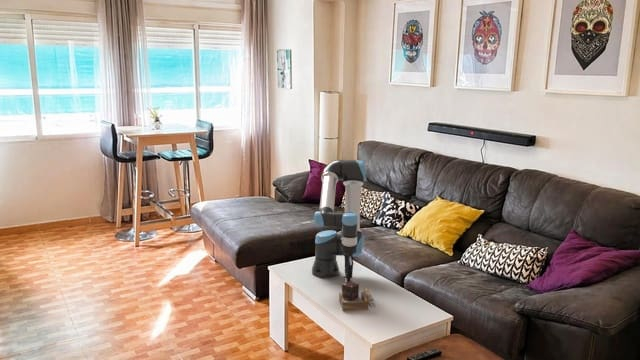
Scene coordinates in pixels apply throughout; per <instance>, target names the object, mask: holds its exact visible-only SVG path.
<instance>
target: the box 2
mask: <svg viewBox="0 0 640 360" xmlns="http://www.w3.org/2000/svg"><path fill="white" fill-rule="evenodd" d="M338 301H339V305H340V307H341V310H342V311H343V312H344V311H345V312H346V311H368V310H369V303H368V299H367V296H366V294H365V292H364V291H361V295H360V300H359V301H358V300H357V301H356V300H353V301H345V299H344V298H343V296H342V292H338Z"/></svg>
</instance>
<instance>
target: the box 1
mask: <svg viewBox="0 0 640 360" xmlns="http://www.w3.org/2000/svg"><path fill="white" fill-rule="evenodd" d="M341 288H342V289H341V293H342V296H343V299H344V300H347V301H348V302H352V301H356V299H359V295H360V294H359V292H360V291H359V290H360V287H359V283H356V282H353V281H352V280H351V281H349V282H346V283H345V282H344V283H342V284H341Z"/></svg>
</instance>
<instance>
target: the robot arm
mask: <svg viewBox="0 0 640 360" xmlns="http://www.w3.org/2000/svg"><path fill="white" fill-rule="evenodd" d="M320 175H321V177H320V180H321V182H322V184H321V190H320V191H321V192H320V202H319V211H315V212H314V214H313V216H314V217H313V218H314V219H313V220H314V221H313V222H314V226H317V227H329V228H332V227H333V228H341V231H340V234H339V233H338V232H337V231H336V230H333V229H331V230H330V229H329V230H322V231H320V232H318V233H317V234H315V239H314V240H315V241H314V243H315V245H314V246H315V249H314V250H315V251H314V252H315V253H314V254H315V255H314V256H315V257H314V261H313V264H312V267H311V274H312V275H313V276H316V277H319V278H333V277H336V276H338V275H339V274H340V268H339V264H338V261H337V256H339V257H344V275H345V276H344V279H345V281H344V283H346V282H349V281H351V282H352V279H353V271H354V270H353V269H354V263H355V262H354V257H360V256H362V254H363V248H364V244H365V243H364V242H365V235H364V234H363V231H362V230H361V229H360V224H361V223H360V222H361V221H360V220H361V219H360V218H361V195H362V193H361V192H362V190H361V189H362V186H363V185H364V182H366V181H367V172H366V164H365V162H364V161H363V160H358V159H335V160H332V161H331V162H328V164H327V165H326V166H325V167H324V169H323V170H322V172H321V174H320ZM339 181H343V182H342V184H343V186H344V187H345V188H344V189H345V191H344V192H345V194H344V212H337V211H336V212H335V199H336V189H337V188H336V187H337V183H338V182H339Z"/></svg>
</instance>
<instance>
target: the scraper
mask: <svg viewBox="0 0 640 360" xmlns="http://www.w3.org/2000/svg"><path fill="white" fill-rule="evenodd" d="M363 292H364V294H365V296H366V298H367V300H368V306H369V307H370V308H374V307H375V308H376V304H375V301H374V299H373V297H372V295H371V293H370V291H369V288H367V287H365V288H364V289H363Z"/></svg>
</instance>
